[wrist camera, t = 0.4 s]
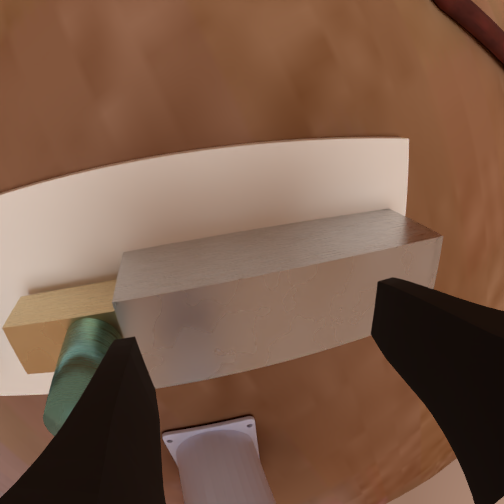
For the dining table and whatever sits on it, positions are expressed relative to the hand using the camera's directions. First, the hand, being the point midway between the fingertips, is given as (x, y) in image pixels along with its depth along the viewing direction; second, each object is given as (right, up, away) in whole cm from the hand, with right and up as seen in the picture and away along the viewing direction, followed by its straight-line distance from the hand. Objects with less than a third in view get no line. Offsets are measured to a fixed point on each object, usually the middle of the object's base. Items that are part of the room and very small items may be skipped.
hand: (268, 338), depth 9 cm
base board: (-7, +1, +9) cm, 12 cm away
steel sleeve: (+1, +2, +10) cm, 10 cm away
